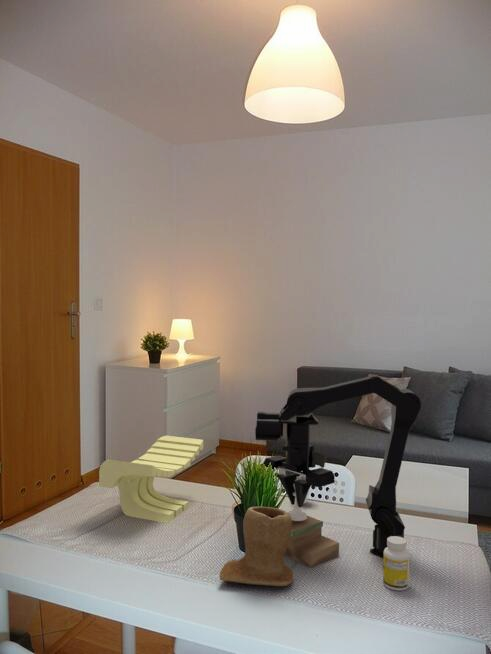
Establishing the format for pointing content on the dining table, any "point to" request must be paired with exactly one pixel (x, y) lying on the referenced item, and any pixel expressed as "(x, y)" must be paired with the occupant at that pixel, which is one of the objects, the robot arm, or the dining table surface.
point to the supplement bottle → (396, 564)
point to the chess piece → (297, 509)
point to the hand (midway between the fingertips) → (296, 505)
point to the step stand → (310, 543)
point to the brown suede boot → (262, 549)
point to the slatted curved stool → (150, 478)
